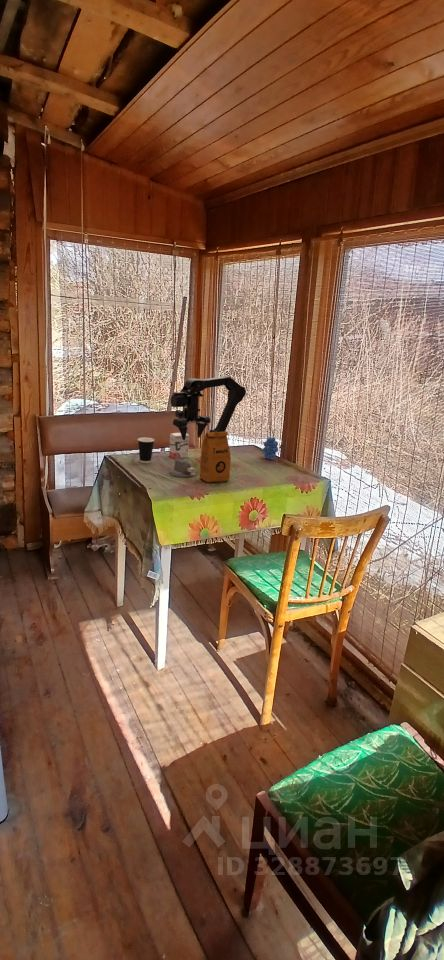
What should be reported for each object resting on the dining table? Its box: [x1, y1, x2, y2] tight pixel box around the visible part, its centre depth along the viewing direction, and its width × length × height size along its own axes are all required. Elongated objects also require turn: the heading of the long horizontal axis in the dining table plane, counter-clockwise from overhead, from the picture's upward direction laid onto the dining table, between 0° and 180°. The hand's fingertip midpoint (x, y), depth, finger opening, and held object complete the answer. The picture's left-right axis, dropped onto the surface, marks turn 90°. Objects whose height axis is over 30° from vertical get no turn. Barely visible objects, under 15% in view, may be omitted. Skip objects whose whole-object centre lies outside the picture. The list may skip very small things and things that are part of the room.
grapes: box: [262, 436, 279, 460], centre depth 284 cm, size 12×7×12 cm, turn 32°
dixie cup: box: [137, 437, 155, 464], centre depth 264 cm, size 8×8×11 cm
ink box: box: [168, 432, 190, 459], centre depth 277 cm, size 8×5×12 cm, turn 123°
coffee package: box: [199, 431, 232, 483], centre depth 242 cm, size 10×12×22 cm
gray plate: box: [168, 468, 197, 479], centre depth 251 cm, size 12×12×1 cm
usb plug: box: [173, 458, 196, 475], centre depth 249 cm, size 4×12×5 cm, turn 42°
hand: (191, 438), depth 263 cm, fingers open, 9 cm apart
